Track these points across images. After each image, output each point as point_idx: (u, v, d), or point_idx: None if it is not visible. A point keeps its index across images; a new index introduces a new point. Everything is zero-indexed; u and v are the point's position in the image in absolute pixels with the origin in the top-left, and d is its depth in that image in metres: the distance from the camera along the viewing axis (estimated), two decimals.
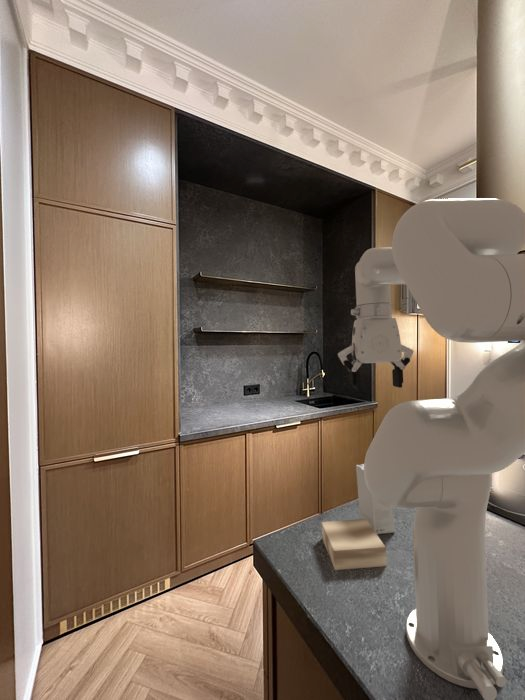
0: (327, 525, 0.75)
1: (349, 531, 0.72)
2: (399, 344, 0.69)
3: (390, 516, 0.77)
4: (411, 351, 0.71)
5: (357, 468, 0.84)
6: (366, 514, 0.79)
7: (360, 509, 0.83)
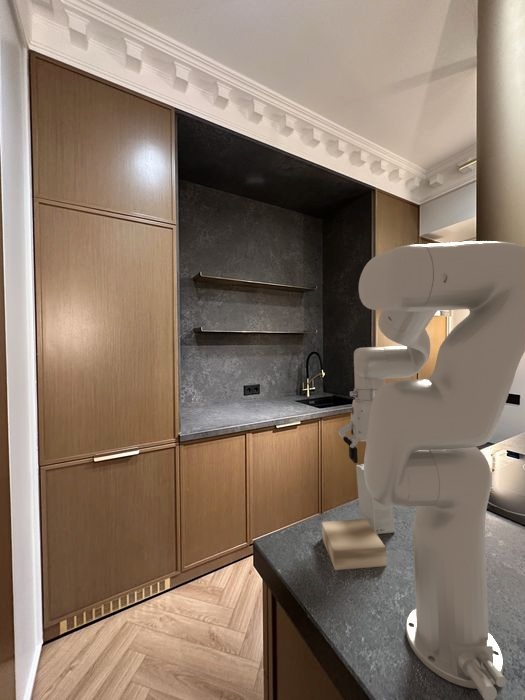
0: (327, 525, 0.75)
1: (349, 531, 0.72)
2: None
3: (390, 516, 0.77)
4: None
5: (357, 468, 0.84)
6: (366, 514, 0.79)
7: (360, 509, 0.83)
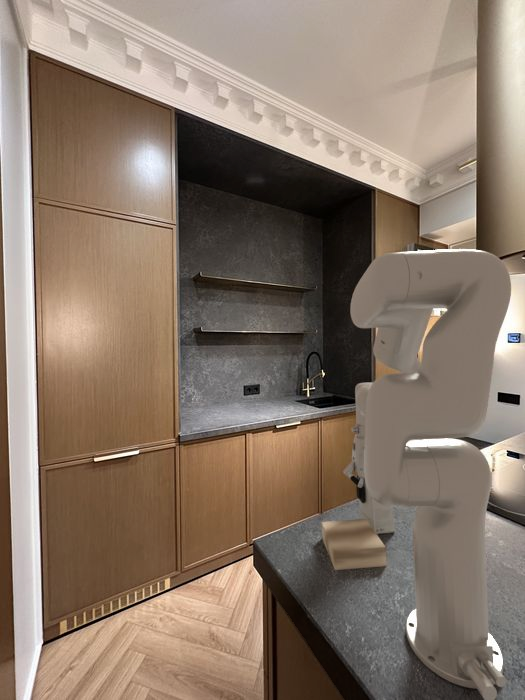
0: (327, 525, 0.75)
1: (349, 531, 0.72)
2: None
3: (390, 516, 0.77)
4: None
5: None
6: (366, 513, 0.79)
7: (360, 508, 0.83)
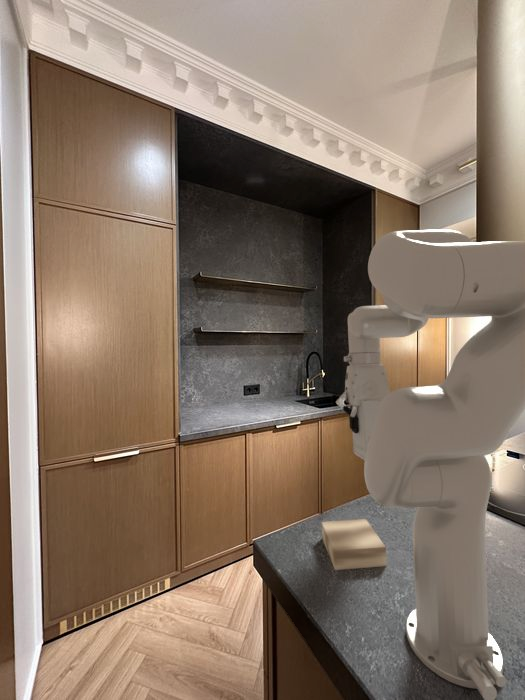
0: (327, 525, 0.75)
1: (349, 531, 0.72)
2: (387, 389, 0.76)
3: None
4: None
5: None
6: (359, 444, 0.77)
7: (353, 442, 0.81)
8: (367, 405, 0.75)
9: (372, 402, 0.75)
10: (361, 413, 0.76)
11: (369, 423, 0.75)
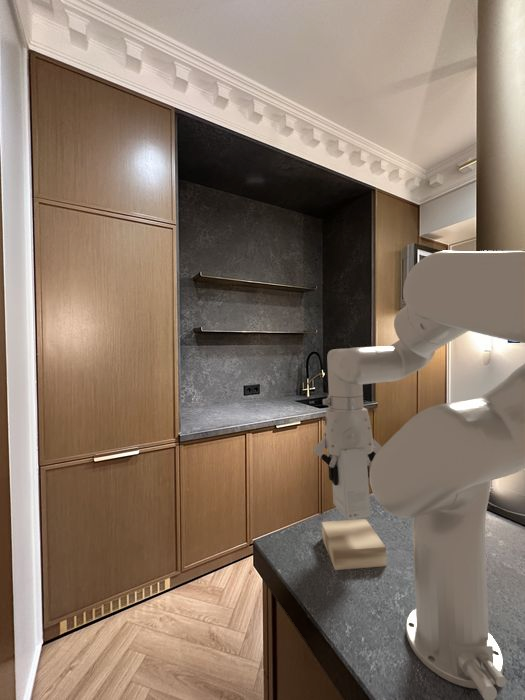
0: (327, 525, 0.75)
1: (349, 531, 0.72)
2: (370, 437, 0.69)
3: (365, 499, 0.67)
4: (380, 447, 0.71)
5: None
6: (339, 497, 0.70)
7: (333, 492, 0.73)
8: (347, 456, 0.67)
9: (353, 453, 0.67)
10: (341, 465, 0.68)
11: (349, 476, 0.67)
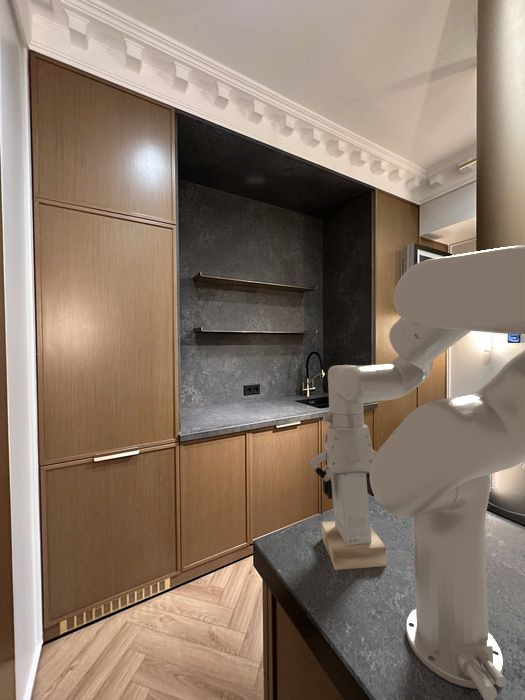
0: (327, 525, 0.75)
1: None
2: (371, 454, 0.69)
3: (366, 524, 0.67)
4: None
5: None
6: (340, 521, 0.69)
7: (334, 515, 0.73)
8: (347, 481, 0.67)
9: (353, 478, 0.67)
10: (341, 490, 0.68)
11: (349, 501, 0.67)
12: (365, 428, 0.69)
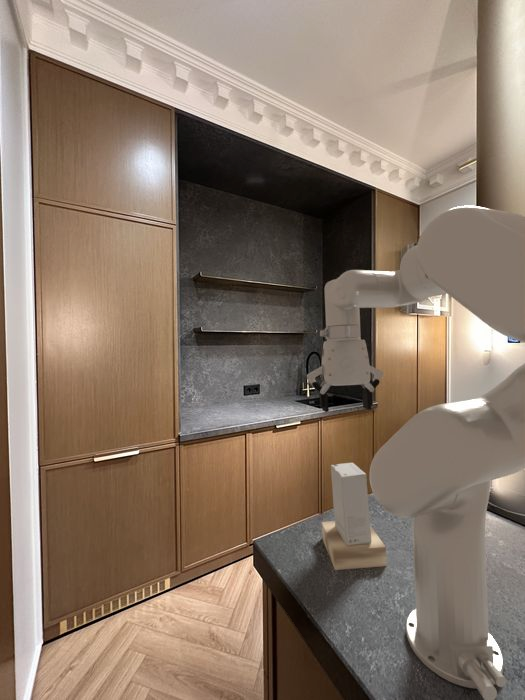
0: (327, 525, 0.75)
1: None
2: (368, 366, 0.69)
3: (366, 524, 0.67)
4: (381, 373, 0.71)
5: (331, 469, 0.74)
6: (340, 521, 0.69)
7: (334, 515, 0.73)
8: (347, 481, 0.67)
9: (353, 478, 0.67)
10: (341, 490, 0.68)
11: (349, 501, 0.67)
12: (362, 340, 0.69)
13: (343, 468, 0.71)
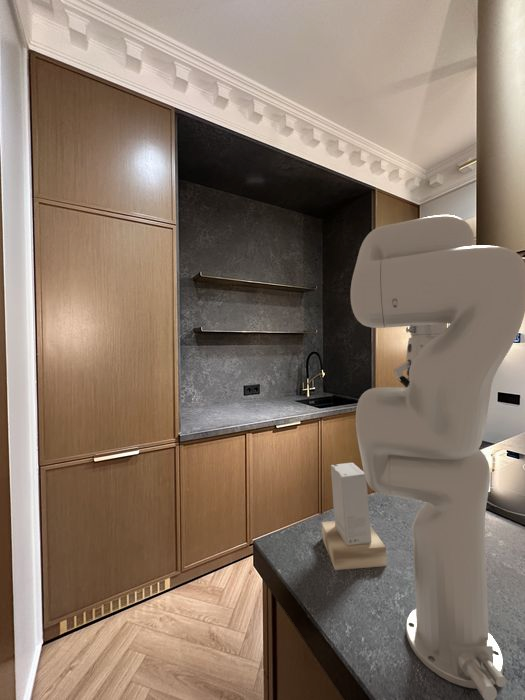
0: (327, 525, 0.75)
1: None
2: None
3: (366, 524, 0.67)
4: None
5: (331, 469, 0.74)
6: (340, 521, 0.69)
7: (334, 515, 0.73)
8: (347, 481, 0.67)
9: (353, 478, 0.67)
10: (341, 490, 0.68)
11: (349, 501, 0.67)
12: None
13: (343, 468, 0.71)
